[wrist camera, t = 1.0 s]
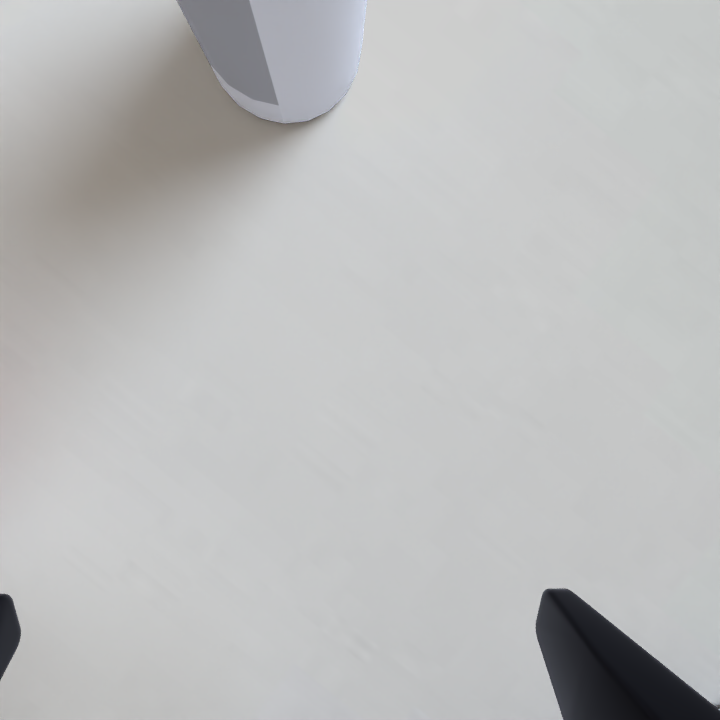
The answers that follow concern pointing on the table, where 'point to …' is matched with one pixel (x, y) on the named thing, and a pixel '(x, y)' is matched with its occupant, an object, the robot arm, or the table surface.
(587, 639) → the robot arm
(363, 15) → the spray bottle
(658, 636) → the table surface
